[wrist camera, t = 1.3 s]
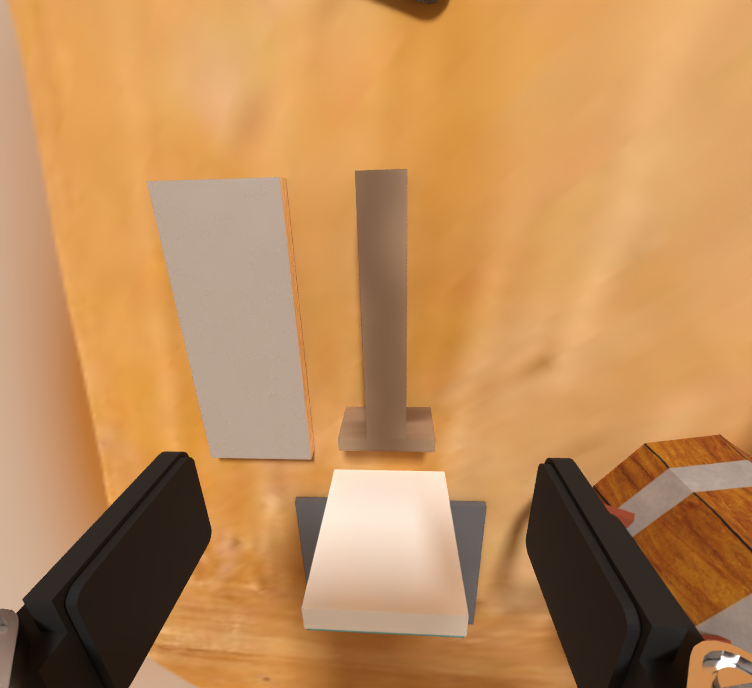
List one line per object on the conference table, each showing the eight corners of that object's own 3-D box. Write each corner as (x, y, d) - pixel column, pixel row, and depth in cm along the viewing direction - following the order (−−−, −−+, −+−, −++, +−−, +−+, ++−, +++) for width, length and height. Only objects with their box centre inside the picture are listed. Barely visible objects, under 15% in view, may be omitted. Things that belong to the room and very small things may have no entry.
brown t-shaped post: (437, 173, 21) (446, 167, 18) (429, 418, 28) (434, 452, 24) (331, 177, 22) (317, 172, 18) (347, 417, 28) (339, 450, 24)
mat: (485, 501, 30) (486, 506, 30) (472, 618, 36) (473, 624, 35) (296, 496, 31) (295, 501, 31) (312, 611, 37) (311, 616, 36)
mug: (807, 452, 27) (1251, 725, 13) (709, 575, 32) (952, 866, 18) (550, 399, 26) (721, 620, 12) (492, 531, 31) (567, 794, 17)
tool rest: (285, 178, 22) (279, 177, 21) (314, 449, 29) (311, 459, 28) (159, 182, 22) (146, 181, 21) (218, 448, 30) (211, 457, 29)
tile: (444, 471, 29) (468, 615, 19) (443, 490, 30) (466, 639, 20) (334, 469, 30) (301, 608, 20) (336, 488, 31) (304, 631, 20)
